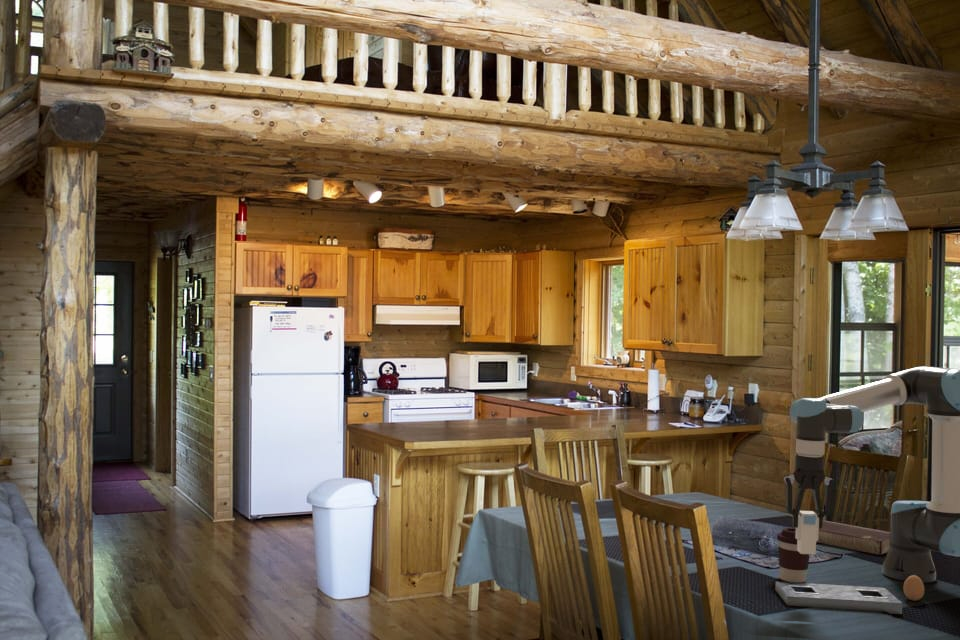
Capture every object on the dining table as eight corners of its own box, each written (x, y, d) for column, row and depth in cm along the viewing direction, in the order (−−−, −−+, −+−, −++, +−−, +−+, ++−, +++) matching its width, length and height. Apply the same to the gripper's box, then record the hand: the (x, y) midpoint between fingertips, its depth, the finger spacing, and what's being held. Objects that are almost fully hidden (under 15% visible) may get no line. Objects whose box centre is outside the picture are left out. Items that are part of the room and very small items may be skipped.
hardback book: (901, 547, 338) (901, 533, 338) (881, 556, 324) (881, 541, 324) (819, 531, 358) (820, 518, 358) (797, 539, 344) (798, 525, 344)
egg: (922, 604, 270) (924, 579, 270) (901, 600, 272) (902, 575, 272) (924, 599, 275) (925, 574, 274) (903, 596, 277) (905, 571, 277)
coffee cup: (812, 587, 283) (814, 535, 282) (776, 583, 285) (779, 532, 284) (808, 577, 292) (810, 528, 292) (773, 574, 294) (775, 525, 294)
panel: (884, 598, 274) (884, 587, 274) (901, 614, 260) (902, 602, 260) (775, 591, 276) (775, 581, 276) (787, 607, 262) (787, 595, 262)
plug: (811, 550, 271) (813, 511, 270) (816, 555, 266) (817, 514, 266) (796, 550, 271) (798, 510, 271) (801, 554, 266) (802, 514, 266)
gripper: (837, 454, 271) (834, 537, 272) (775, 451, 272) (772, 534, 273) (845, 458, 264) (842, 544, 264) (781, 455, 265) (778, 541, 265)
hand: (806, 539), depth 269 cm, fingers closed on plug, 4 cm apart
